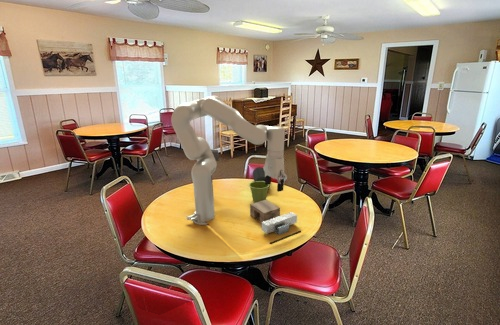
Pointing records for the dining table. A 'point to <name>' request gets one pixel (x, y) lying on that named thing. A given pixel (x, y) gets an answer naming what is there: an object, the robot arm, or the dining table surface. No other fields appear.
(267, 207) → the slotted wooden block
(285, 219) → the rectangular steel bar
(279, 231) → the v-block
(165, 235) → the dining table surface
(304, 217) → the dining table surface
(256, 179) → the portable speaker
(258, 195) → the plant pot
